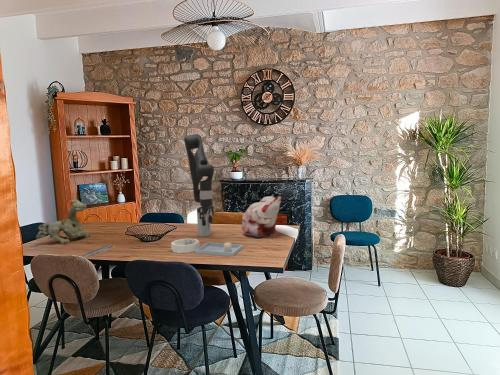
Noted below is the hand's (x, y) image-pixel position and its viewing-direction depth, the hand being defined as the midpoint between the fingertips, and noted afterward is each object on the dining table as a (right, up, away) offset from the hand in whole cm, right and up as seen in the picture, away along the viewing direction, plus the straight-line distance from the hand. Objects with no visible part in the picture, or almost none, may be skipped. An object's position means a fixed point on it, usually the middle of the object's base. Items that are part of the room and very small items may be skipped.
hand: (207, 224), depth 222 cm
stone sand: (+13, -16, -1) cm, 20 cm away
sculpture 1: (-104, -16, +37) cm, 111 cm away
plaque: (-70, -19, +5) cm, 73 cm away
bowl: (-14, -17, +6) cm, 22 cm away
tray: (+7, -17, +1) cm, 18 cm away
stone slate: (-12, -16, +7) cm, 21 cm away
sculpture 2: (+36, -11, +42) cm, 56 cm away
